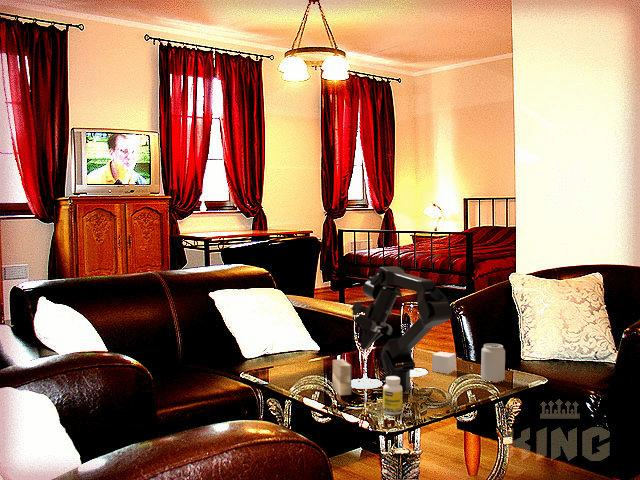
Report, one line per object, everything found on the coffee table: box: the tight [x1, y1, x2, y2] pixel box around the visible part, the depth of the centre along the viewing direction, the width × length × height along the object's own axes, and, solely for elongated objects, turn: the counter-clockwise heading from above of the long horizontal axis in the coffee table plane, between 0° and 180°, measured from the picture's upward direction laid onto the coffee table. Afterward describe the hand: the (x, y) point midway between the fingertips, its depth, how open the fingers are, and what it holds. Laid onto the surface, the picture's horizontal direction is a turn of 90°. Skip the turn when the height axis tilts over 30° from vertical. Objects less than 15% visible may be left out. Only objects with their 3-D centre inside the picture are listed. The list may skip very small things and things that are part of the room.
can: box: [480, 343, 506, 382], centre depth 224 cm, size 8×8×12 cm
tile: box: [332, 358, 352, 396], centre depth 212 cm, size 4×8×9 cm, turn 16°
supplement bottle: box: [382, 376, 403, 416], centre depth 193 cm, size 5×5×10 cm
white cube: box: [431, 351, 457, 375], centre depth 237 cm, size 6×6×6 cm
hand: (362, 349), depth 218 cm, fingers closed
